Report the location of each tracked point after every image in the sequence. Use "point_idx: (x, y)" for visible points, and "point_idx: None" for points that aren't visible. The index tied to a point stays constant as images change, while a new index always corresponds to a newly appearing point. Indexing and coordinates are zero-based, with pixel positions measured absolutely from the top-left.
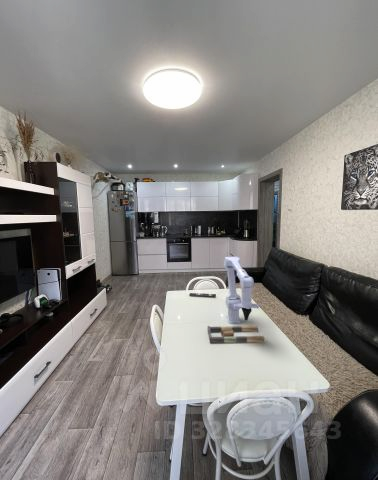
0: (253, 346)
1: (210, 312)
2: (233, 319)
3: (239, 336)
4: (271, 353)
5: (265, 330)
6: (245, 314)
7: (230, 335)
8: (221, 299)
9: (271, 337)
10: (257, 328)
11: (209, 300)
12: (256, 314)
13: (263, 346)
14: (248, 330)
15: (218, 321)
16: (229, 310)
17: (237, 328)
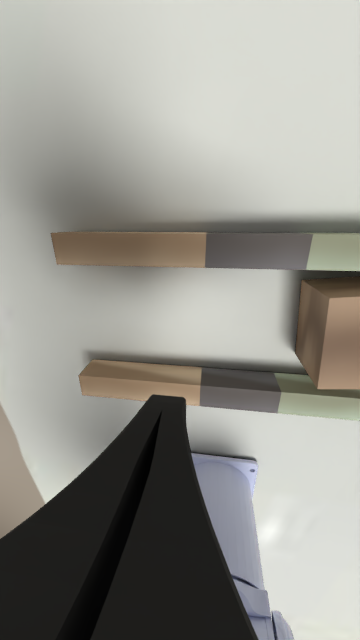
0: (168, 175)
1: (329, 562)
2: (226, 482)
3: (268, 268)
4: (42, 61)
5: (44, 366)
6: (173, 500)
7: (354, 287)
8: None
9: (17, 290)
10: (85, 371)
11: None
12: None
13: (89, 175)
14: (153, 368)
15: (320, 485)
16: (261, 578)
17: (237, 385)
